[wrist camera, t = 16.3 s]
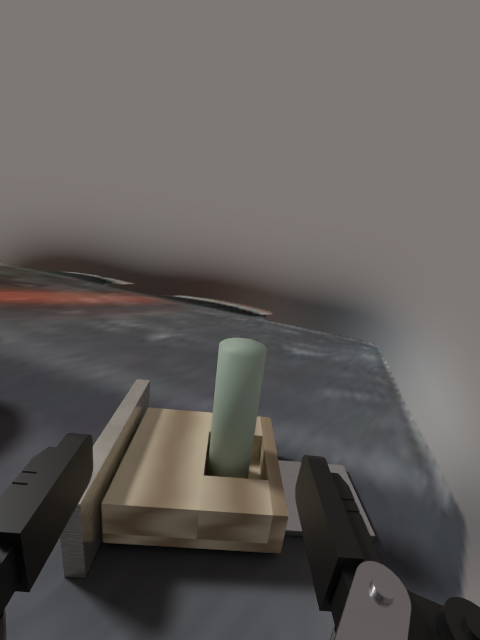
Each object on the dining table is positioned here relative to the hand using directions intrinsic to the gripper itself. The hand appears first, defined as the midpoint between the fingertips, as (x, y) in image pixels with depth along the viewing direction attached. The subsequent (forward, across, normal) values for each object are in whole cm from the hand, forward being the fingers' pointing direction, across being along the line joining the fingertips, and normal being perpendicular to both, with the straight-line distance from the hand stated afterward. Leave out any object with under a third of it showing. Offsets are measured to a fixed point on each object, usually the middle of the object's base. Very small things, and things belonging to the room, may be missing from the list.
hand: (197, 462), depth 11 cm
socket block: (+13, 0, +17) cm, 21 cm away
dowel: (+13, -3, +15) cm, 20 cm away
